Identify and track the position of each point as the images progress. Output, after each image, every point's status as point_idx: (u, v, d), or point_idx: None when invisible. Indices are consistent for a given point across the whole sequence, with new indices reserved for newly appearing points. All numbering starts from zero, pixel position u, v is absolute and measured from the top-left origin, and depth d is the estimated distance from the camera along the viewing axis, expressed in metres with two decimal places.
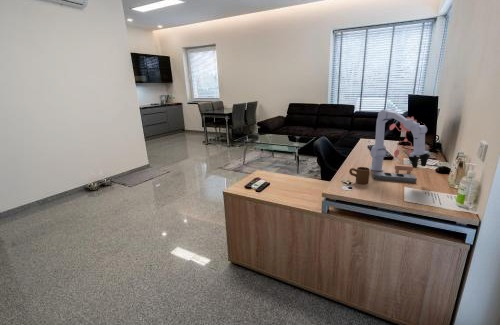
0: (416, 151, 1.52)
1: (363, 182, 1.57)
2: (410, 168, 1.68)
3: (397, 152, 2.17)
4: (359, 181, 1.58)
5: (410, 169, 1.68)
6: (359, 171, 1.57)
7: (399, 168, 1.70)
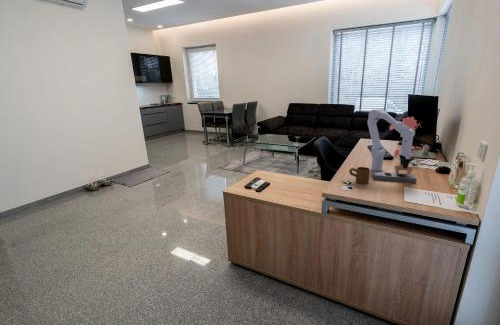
0: (407, 153, 1.65)
1: (363, 182, 1.57)
2: (410, 168, 1.68)
3: (397, 152, 2.17)
4: (359, 181, 1.58)
5: (410, 169, 1.68)
6: (359, 171, 1.57)
7: (399, 168, 1.70)
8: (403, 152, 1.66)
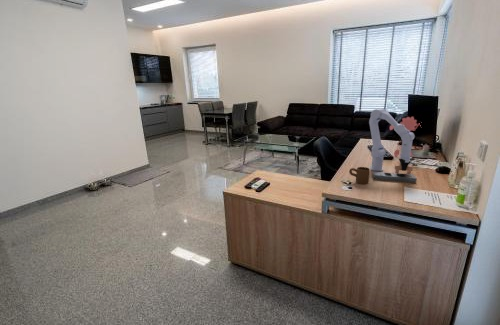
0: (406, 156, 1.66)
1: (363, 182, 1.57)
2: (410, 168, 1.68)
3: (397, 152, 2.17)
4: (359, 181, 1.58)
5: (410, 169, 1.68)
6: (359, 171, 1.57)
7: (399, 168, 1.70)
8: (402, 155, 1.67)
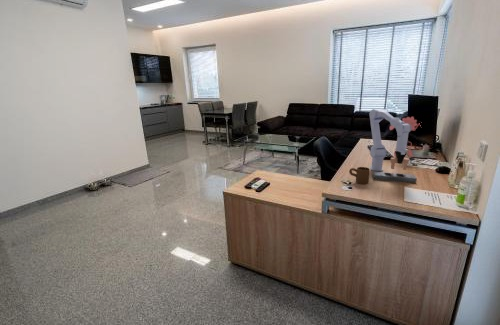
0: (402, 148, 1.59)
1: (363, 182, 1.57)
2: (406, 161, 1.62)
3: None
4: (359, 181, 1.58)
5: (406, 162, 1.62)
6: (359, 171, 1.57)
7: (395, 161, 1.64)
8: (398, 147, 1.61)
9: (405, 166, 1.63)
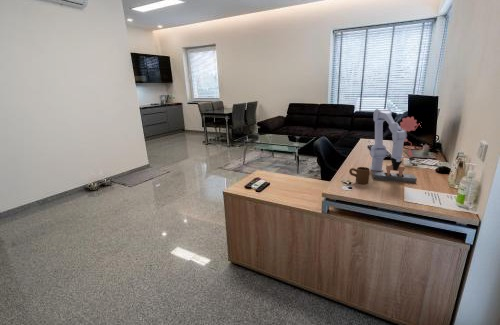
0: (398, 156, 1.58)
1: (363, 182, 1.57)
2: (402, 168, 1.60)
3: None
4: (359, 181, 1.58)
5: (402, 169, 1.61)
6: (359, 171, 1.57)
7: (390, 168, 1.63)
8: (394, 155, 1.59)
9: (401, 173, 1.61)
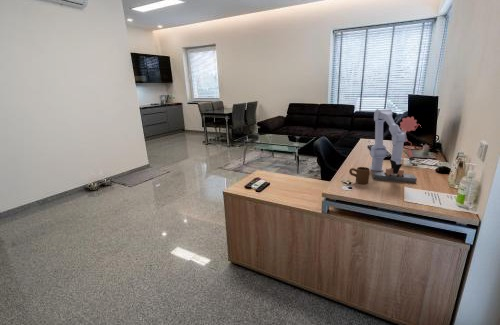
0: (397, 158, 1.59)
1: (363, 182, 1.57)
2: (401, 172, 1.61)
3: None
4: (359, 181, 1.58)
5: (401, 173, 1.61)
6: (359, 171, 1.57)
7: (390, 171, 1.63)
8: (393, 157, 1.60)
9: None
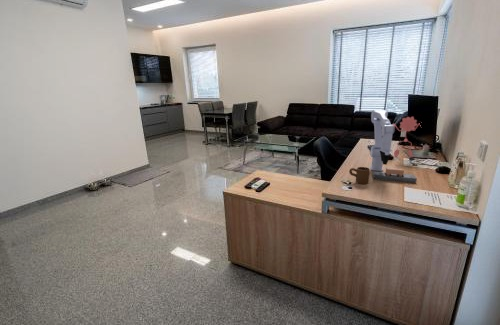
0: (386, 149, 1.64)
1: (363, 182, 1.57)
2: (401, 172, 1.61)
3: (397, 152, 2.17)
4: (359, 181, 1.58)
5: (401, 173, 1.61)
6: (359, 171, 1.57)
7: (390, 171, 1.63)
8: (383, 148, 1.65)
9: None
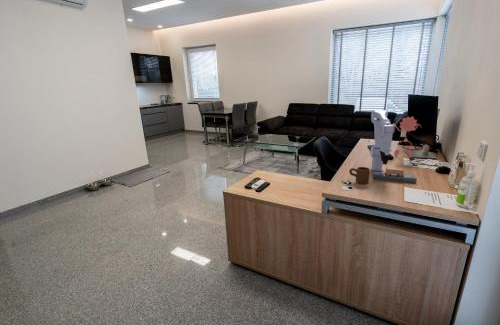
0: (386, 149, 1.64)
1: (363, 182, 1.57)
2: (401, 172, 1.61)
3: (397, 152, 2.17)
4: (359, 181, 1.58)
5: (401, 173, 1.61)
6: (359, 171, 1.57)
7: (390, 171, 1.63)
8: (383, 148, 1.65)
9: None
